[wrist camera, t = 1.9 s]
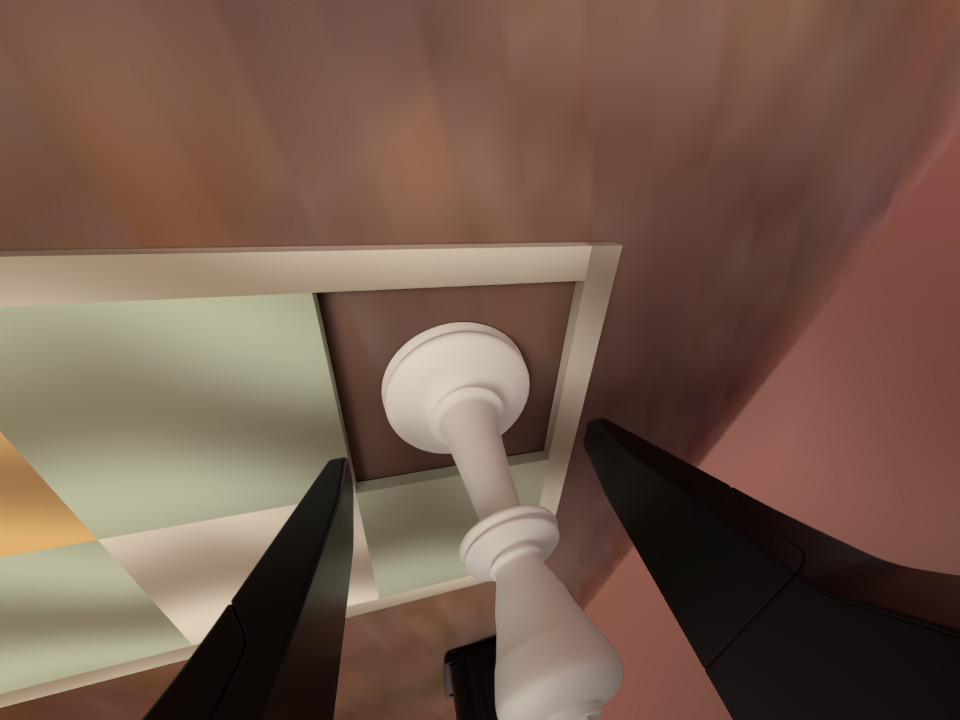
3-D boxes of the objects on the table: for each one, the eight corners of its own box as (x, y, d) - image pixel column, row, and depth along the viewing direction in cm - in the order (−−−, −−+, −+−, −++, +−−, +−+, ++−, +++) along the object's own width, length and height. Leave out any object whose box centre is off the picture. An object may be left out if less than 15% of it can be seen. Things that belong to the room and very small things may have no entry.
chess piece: (355, 352, 10) (264, 1271, 2) (511, 300, 10) (1013, 850, 2) (411, 459, 13) (477, 1018, 5) (533, 414, 13) (796, 850, 5)
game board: (539, 558, 19) (542, 566, 19) (-48, 705, 13) (-62, 723, 13) (612, 241, 10) (622, 245, 10) (-1016, 265, 4) (-1160, 276, 4)
